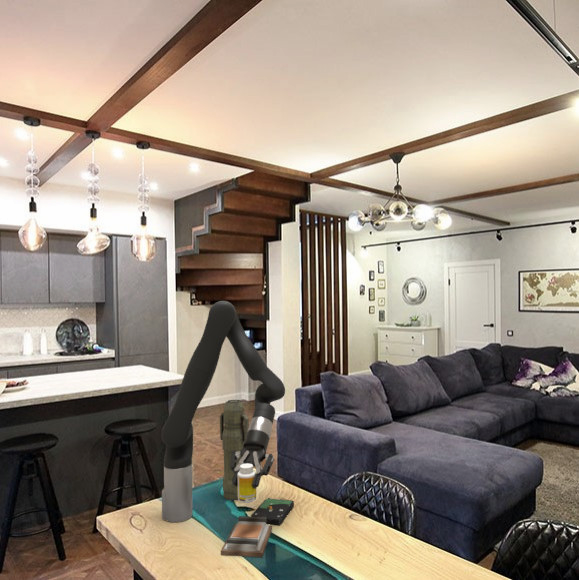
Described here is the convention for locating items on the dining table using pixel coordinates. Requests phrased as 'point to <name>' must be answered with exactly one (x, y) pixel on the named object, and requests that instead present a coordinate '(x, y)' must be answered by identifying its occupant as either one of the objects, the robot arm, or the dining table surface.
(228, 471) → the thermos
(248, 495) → the supplement bottle
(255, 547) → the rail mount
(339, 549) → the dining table surface
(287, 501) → the disk drive
